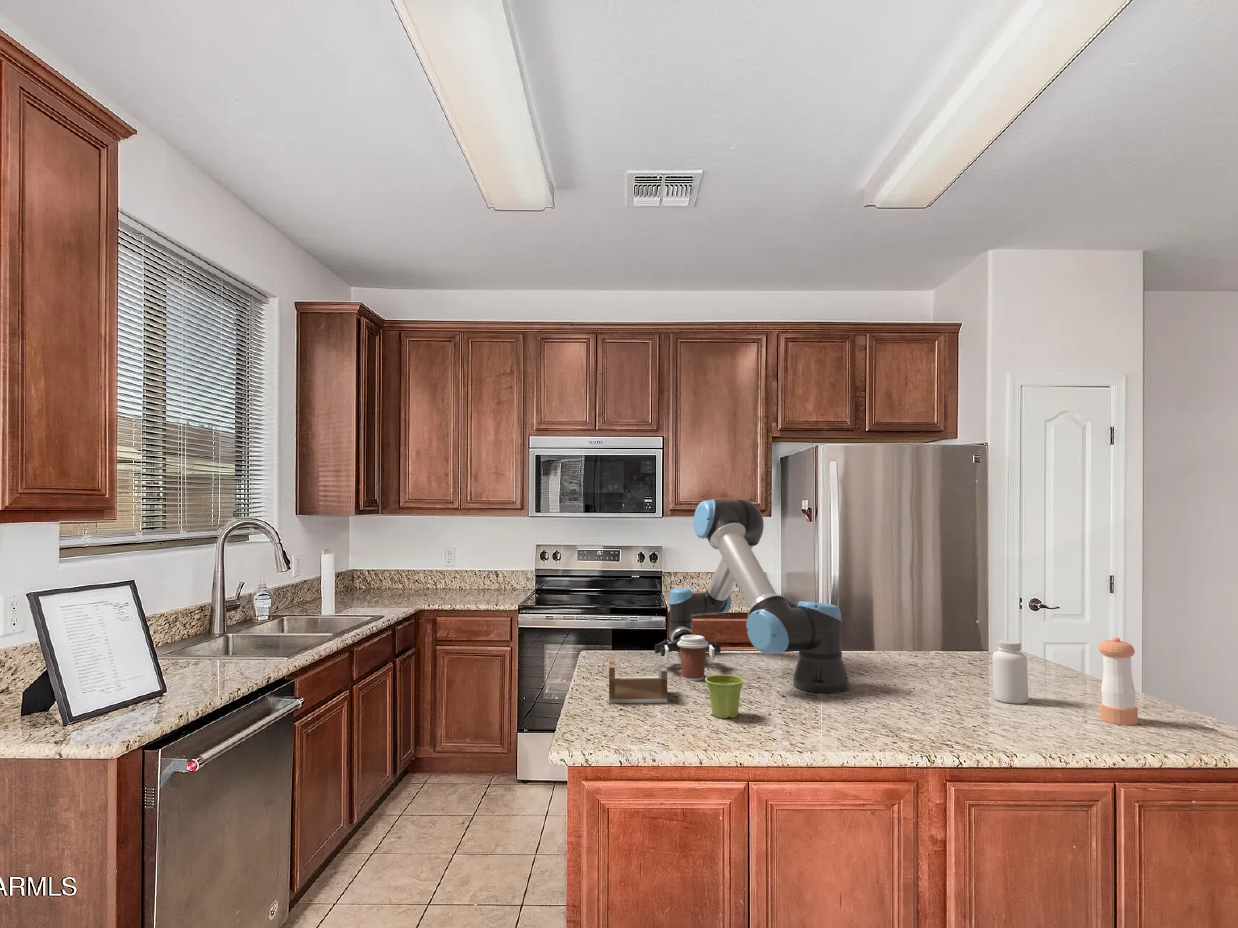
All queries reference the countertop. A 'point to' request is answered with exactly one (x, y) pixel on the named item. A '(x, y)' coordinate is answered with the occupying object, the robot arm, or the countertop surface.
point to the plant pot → (724, 694)
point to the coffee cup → (692, 657)
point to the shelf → (637, 687)
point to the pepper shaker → (1118, 683)
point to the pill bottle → (1010, 673)
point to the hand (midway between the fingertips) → (690, 653)
